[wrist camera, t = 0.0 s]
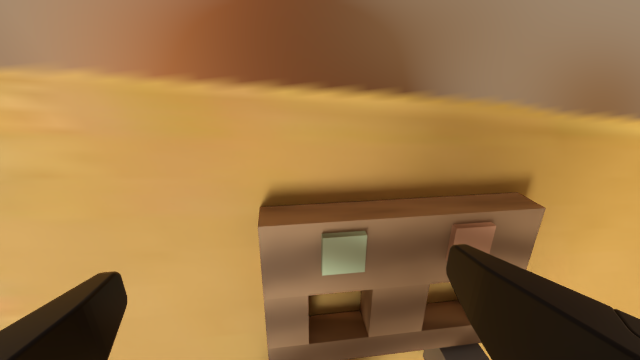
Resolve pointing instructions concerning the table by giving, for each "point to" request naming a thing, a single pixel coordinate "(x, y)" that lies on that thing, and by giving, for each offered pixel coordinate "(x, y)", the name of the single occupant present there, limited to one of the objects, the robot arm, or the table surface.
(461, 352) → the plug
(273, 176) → the table surface
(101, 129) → the table surface
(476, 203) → the socket board
